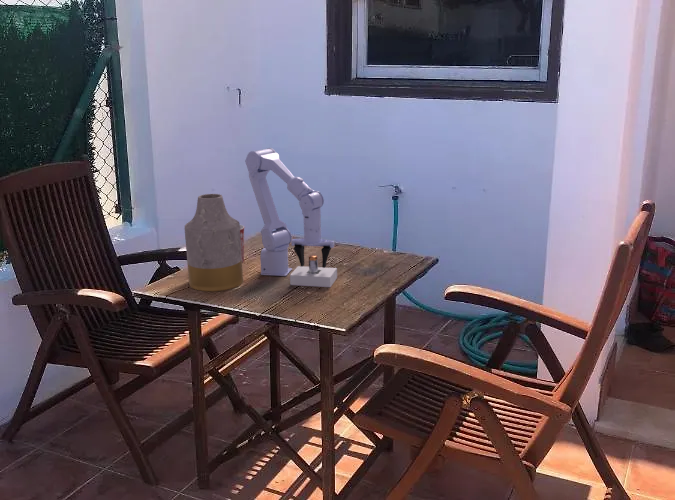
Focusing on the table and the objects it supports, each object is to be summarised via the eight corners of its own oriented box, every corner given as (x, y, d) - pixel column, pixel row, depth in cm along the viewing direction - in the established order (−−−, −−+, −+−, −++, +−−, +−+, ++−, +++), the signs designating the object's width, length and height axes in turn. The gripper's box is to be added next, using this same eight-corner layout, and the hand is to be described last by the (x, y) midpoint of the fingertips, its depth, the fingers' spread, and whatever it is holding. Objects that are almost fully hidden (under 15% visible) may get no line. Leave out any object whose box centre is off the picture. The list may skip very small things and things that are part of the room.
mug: (251, 260, 275) (249, 225, 271) (237, 266, 267) (234, 231, 264) (224, 255, 281) (222, 222, 277) (209, 262, 273) (207, 227, 269)
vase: (196, 295, 239) (188, 204, 231) (184, 278, 256) (176, 193, 247) (249, 286, 246) (244, 198, 238) (234, 271, 262) (229, 188, 254)
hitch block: (290, 284, 247) (289, 275, 246) (298, 275, 256) (298, 266, 255) (330, 287, 244) (330, 277, 243) (337, 277, 253) (336, 268, 252)
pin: (308, 282, 249) (307, 257, 246) (311, 279, 252) (310, 254, 249) (316, 283, 248) (315, 258, 245) (319, 280, 251) (318, 255, 248)
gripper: (288, 230, 243) (289, 268, 246) (330, 232, 239) (331, 271, 243) (294, 224, 249) (295, 262, 253) (335, 226, 246) (336, 264, 250)
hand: (313, 266), depth 249 cm, fingers open, 7 cm apart
